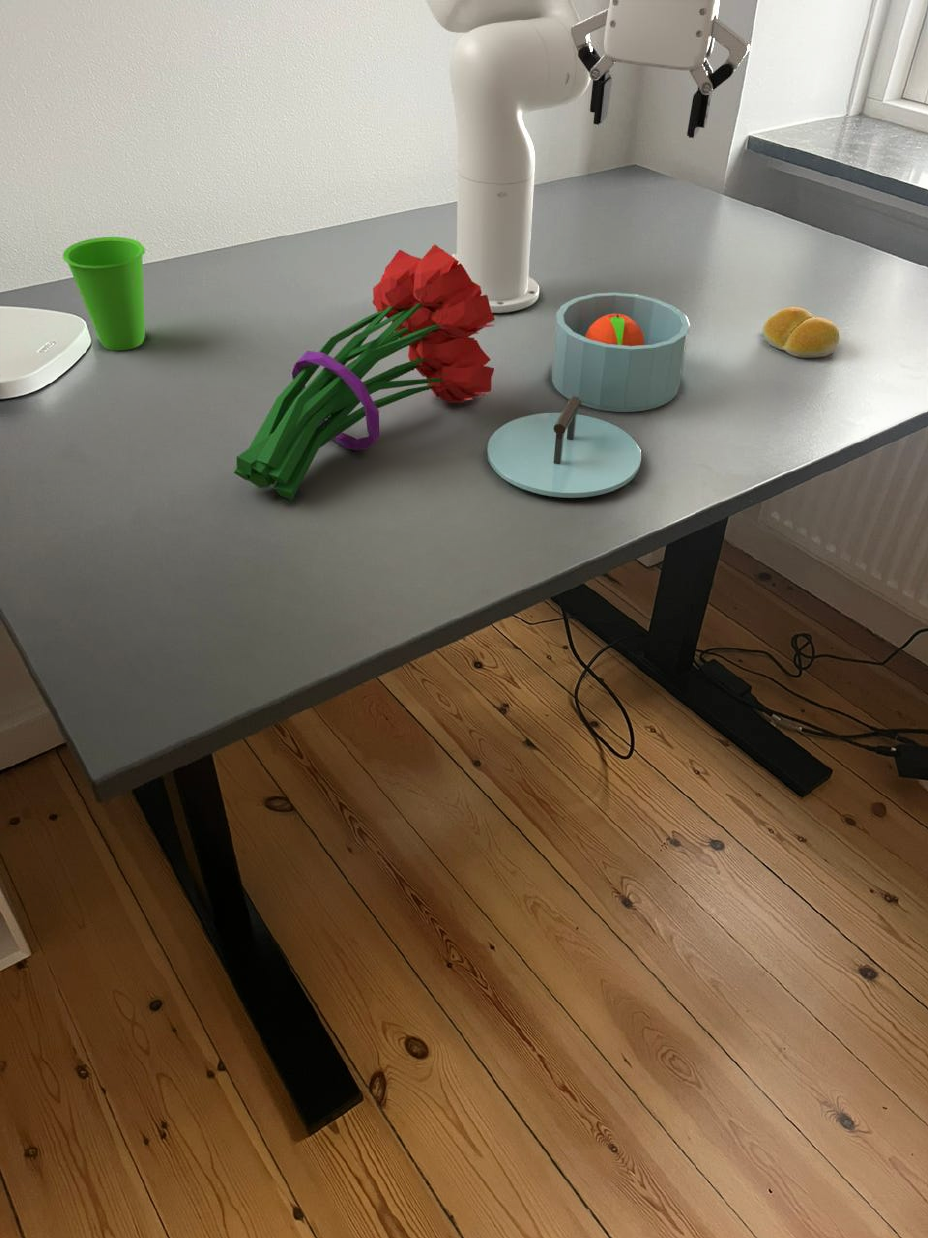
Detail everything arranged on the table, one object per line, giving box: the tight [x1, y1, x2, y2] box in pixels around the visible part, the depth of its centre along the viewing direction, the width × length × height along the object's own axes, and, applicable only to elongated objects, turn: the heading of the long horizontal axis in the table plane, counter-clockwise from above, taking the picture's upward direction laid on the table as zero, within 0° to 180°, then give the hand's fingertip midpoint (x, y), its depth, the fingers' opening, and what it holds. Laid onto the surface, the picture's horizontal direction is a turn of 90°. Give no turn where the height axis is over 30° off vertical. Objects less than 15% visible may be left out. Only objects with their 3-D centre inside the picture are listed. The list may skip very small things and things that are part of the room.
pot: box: [550, 292, 691, 413], centre depth 114 cm, size 15×15×8 cm
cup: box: [62, 236, 146, 351], centre depth 119 cm, size 9×9×11 cm
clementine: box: [585, 314, 644, 346], centre depth 114 cm, size 8×7×7 cm
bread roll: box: [762, 306, 840, 359], centre depth 124 cm, size 8×9×4 cm
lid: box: [486, 396, 642, 499], centre depth 102 cm, size 16×16×6 cm
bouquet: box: [233, 244, 495, 501], centre depth 101 cm, size 20×16×30 cm
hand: (646, 127), depth 103 cm, fingers open, 9 cm apart
